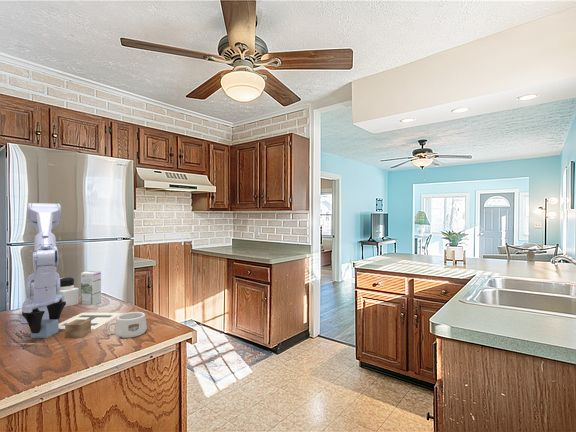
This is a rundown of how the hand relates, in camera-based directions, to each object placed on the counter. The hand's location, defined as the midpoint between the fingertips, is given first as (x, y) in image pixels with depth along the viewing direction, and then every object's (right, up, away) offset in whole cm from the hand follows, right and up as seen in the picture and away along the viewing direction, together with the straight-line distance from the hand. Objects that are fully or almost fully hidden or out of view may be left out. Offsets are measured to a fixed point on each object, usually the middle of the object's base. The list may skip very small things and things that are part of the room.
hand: (45, 328), depth 100 cm
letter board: (+5, -3, +14) cm, 15 cm away
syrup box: (-9, -3, +38) cm, 39 cm away
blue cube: (0, -3, 0) cm, 3 cm away
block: (+11, -3, 0) cm, 11 cm away
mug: (+25, -3, +3) cm, 25 cm away
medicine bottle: (-19, -3, +36) cm, 41 cm away
